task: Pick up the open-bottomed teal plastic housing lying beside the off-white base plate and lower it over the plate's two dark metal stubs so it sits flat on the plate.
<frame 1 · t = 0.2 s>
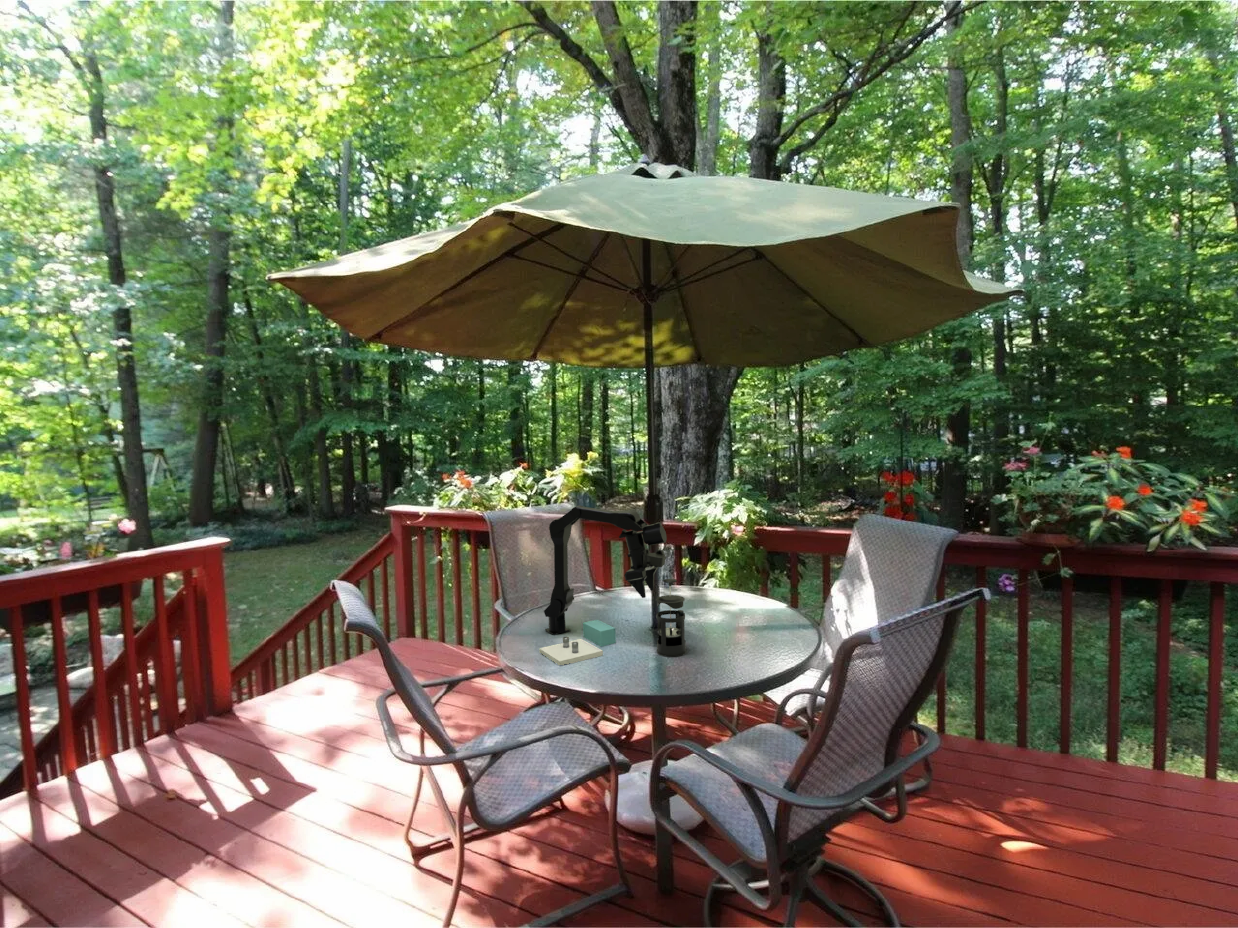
hand: (648, 594, 220), 15 cm above the table, tool pointing down, fingers open, 9 cm apart
base plate: (570, 654, 208), on the table
stubs: (570, 644, 208), on the base plate, point 3 cm above the table
french press: (672, 651, 208), on the table
housing: (599, 640, 221), on the table
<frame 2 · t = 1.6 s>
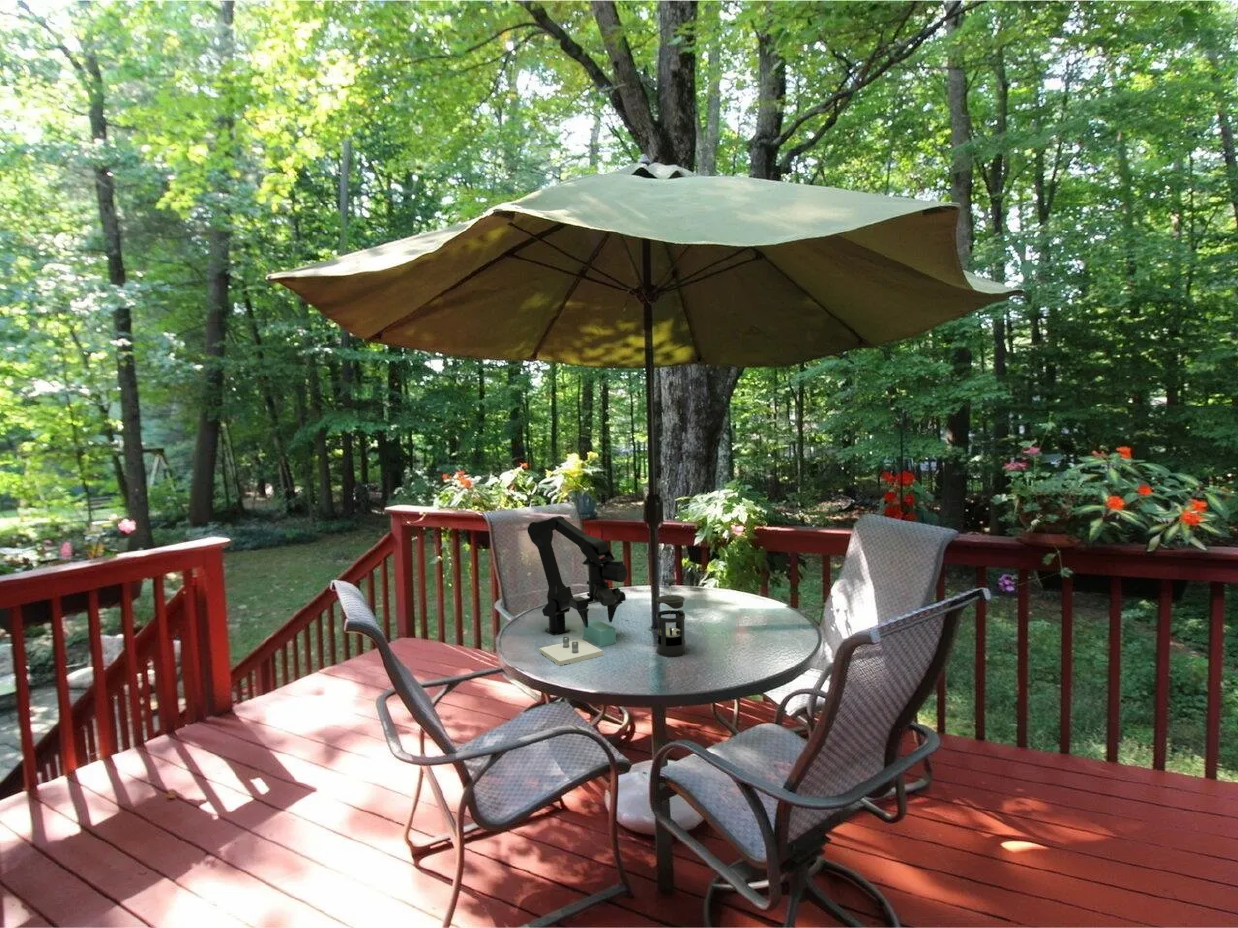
hand: (598, 624, 221), 5 cm above the table, tool pointing down, fingers open, 9 cm apart
nothing on the table moved.
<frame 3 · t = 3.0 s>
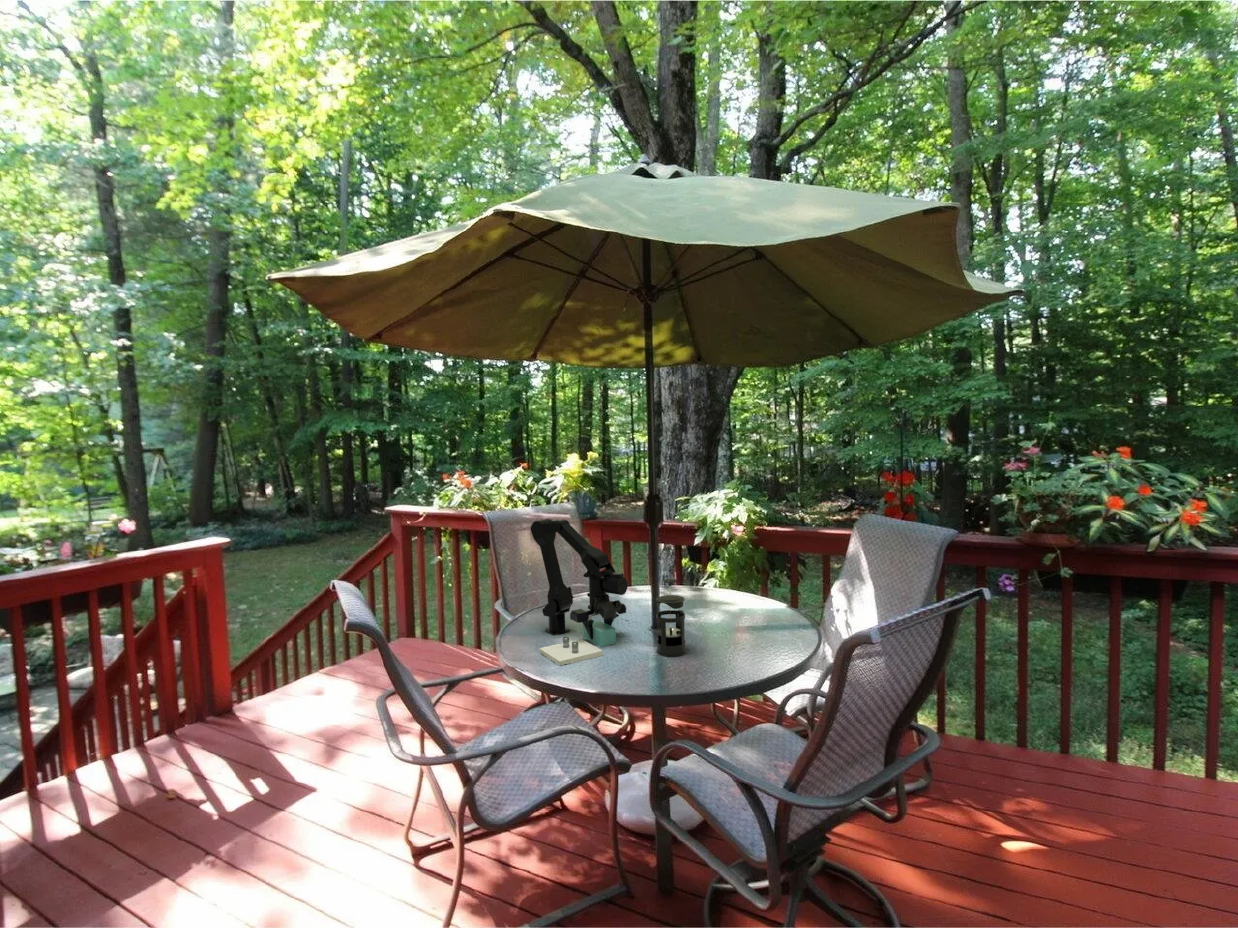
hand: (599, 637, 221), 1 cm above the table, tool pointing down, fingers closed on housing, 6 cm apart
housing: (599, 640, 221), on the table, touching gripper
everything else where it was.
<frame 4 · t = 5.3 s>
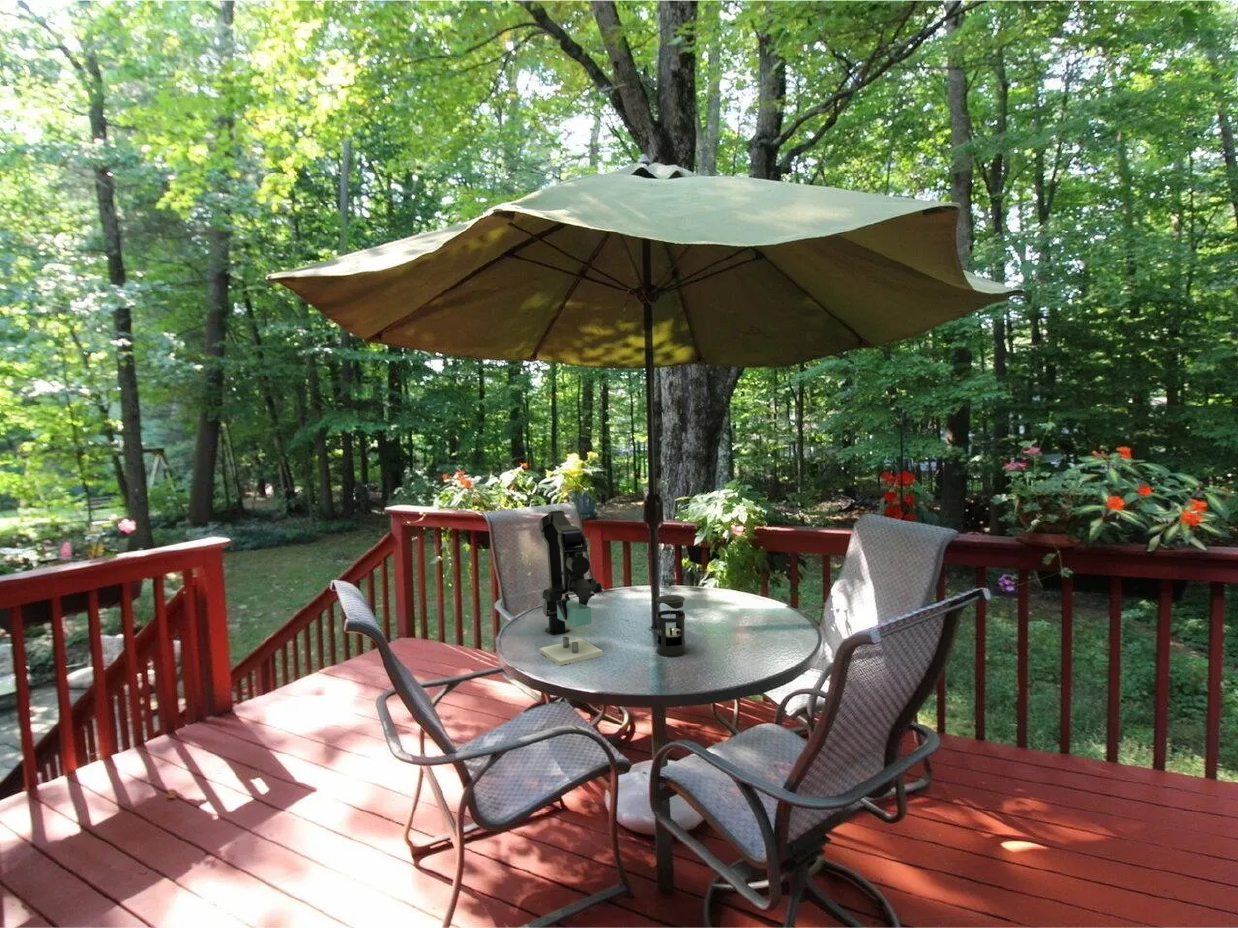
hand: (573, 617, 209), 11 cm above the table, tool pointing down, fingers closed on housing, 6 cm apart
housing: (574, 620, 209), point 10 cm above the table, touching gripper
everything else where it was.
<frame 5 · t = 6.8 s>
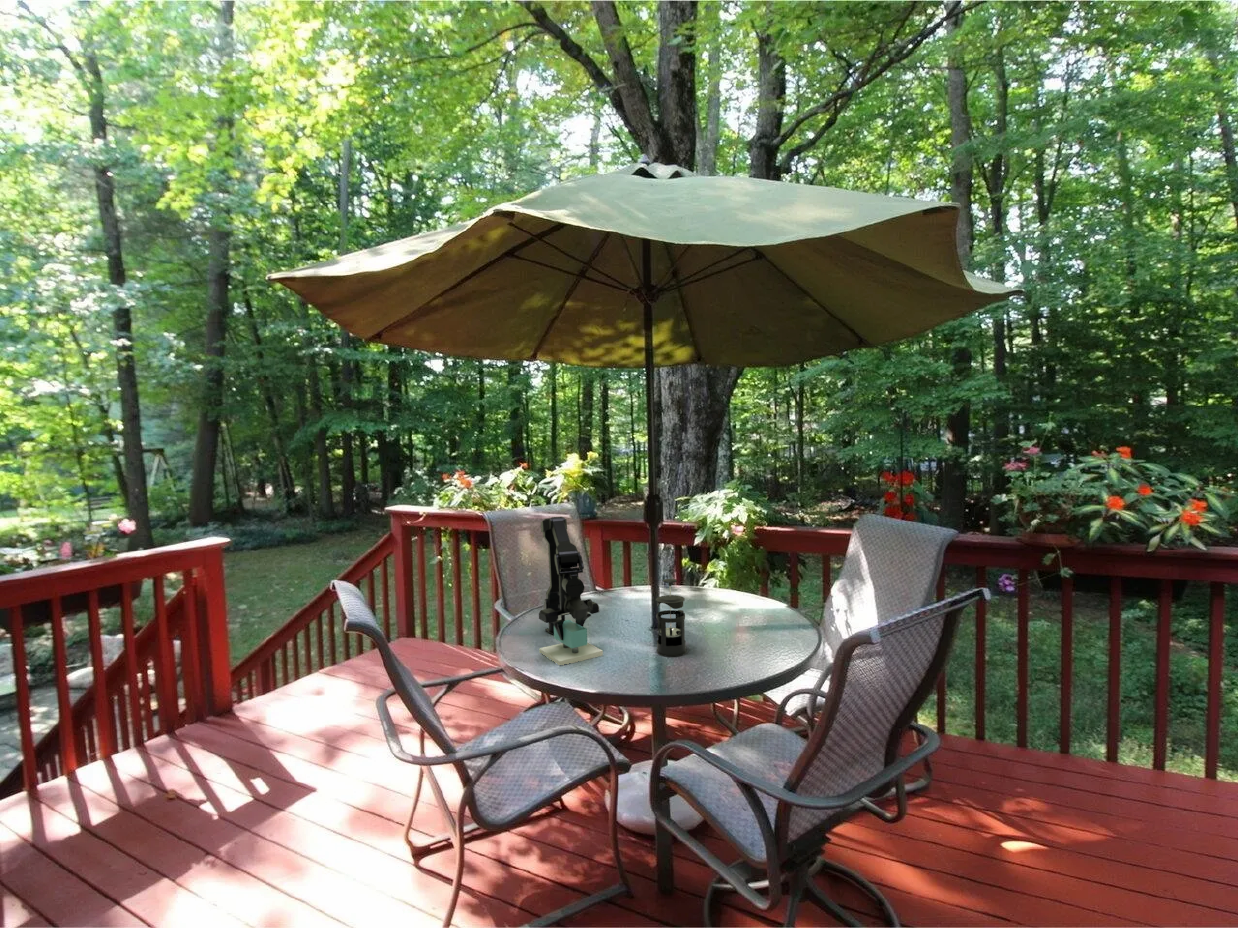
hand: (570, 638, 208), 5 cm above the table, tool pointing down, fingers closed on housing, 6 cm apart
housing: (570, 641, 208), point 4 cm above the table, touching gripper
everything else where it was.
when the fingers open (4 cm above the table, at t = 8.0 s): housing drops 1 cm, resting on base plate.
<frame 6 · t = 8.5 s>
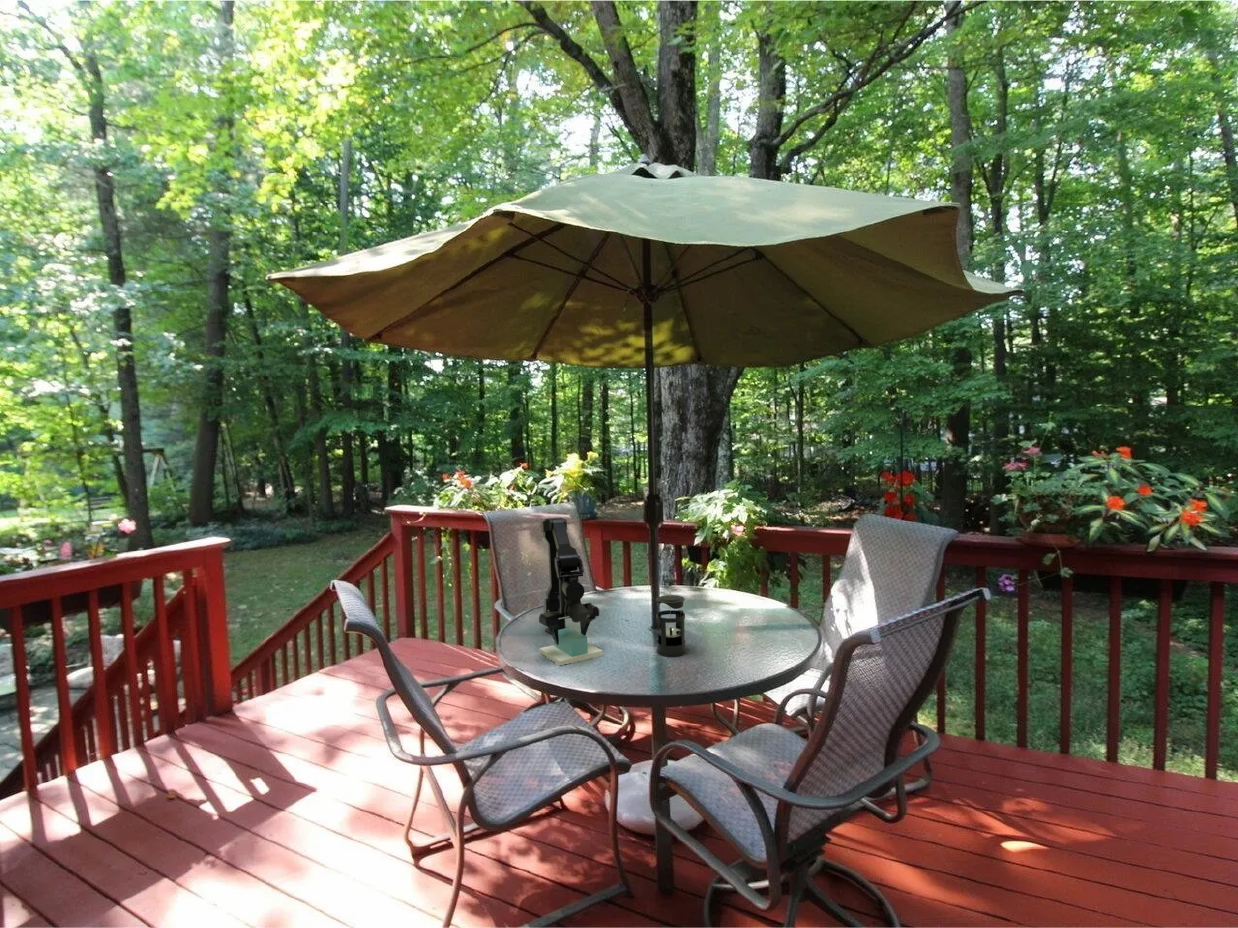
hand: (570, 641, 208), 4 cm above the table, tool pointing down, fingers open, 9 cm apart
housing: (570, 649, 208), point 1 cm above the table, touching base plate
everything else where it was.
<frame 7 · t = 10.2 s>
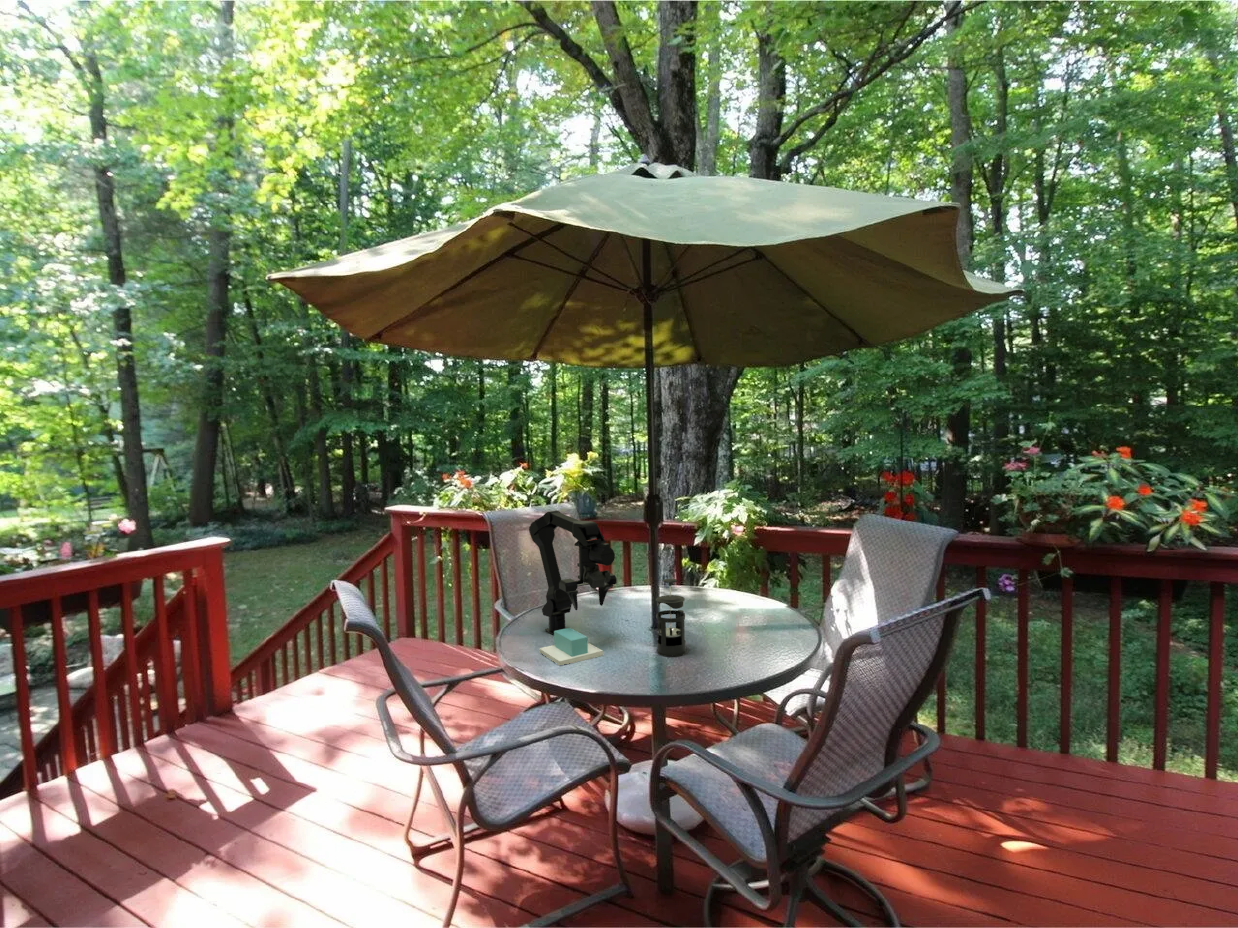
hand: (588, 607, 218), 12 cm above the table, tool pointing down, fingers open, 9 cm apart
nothing on the table moved.
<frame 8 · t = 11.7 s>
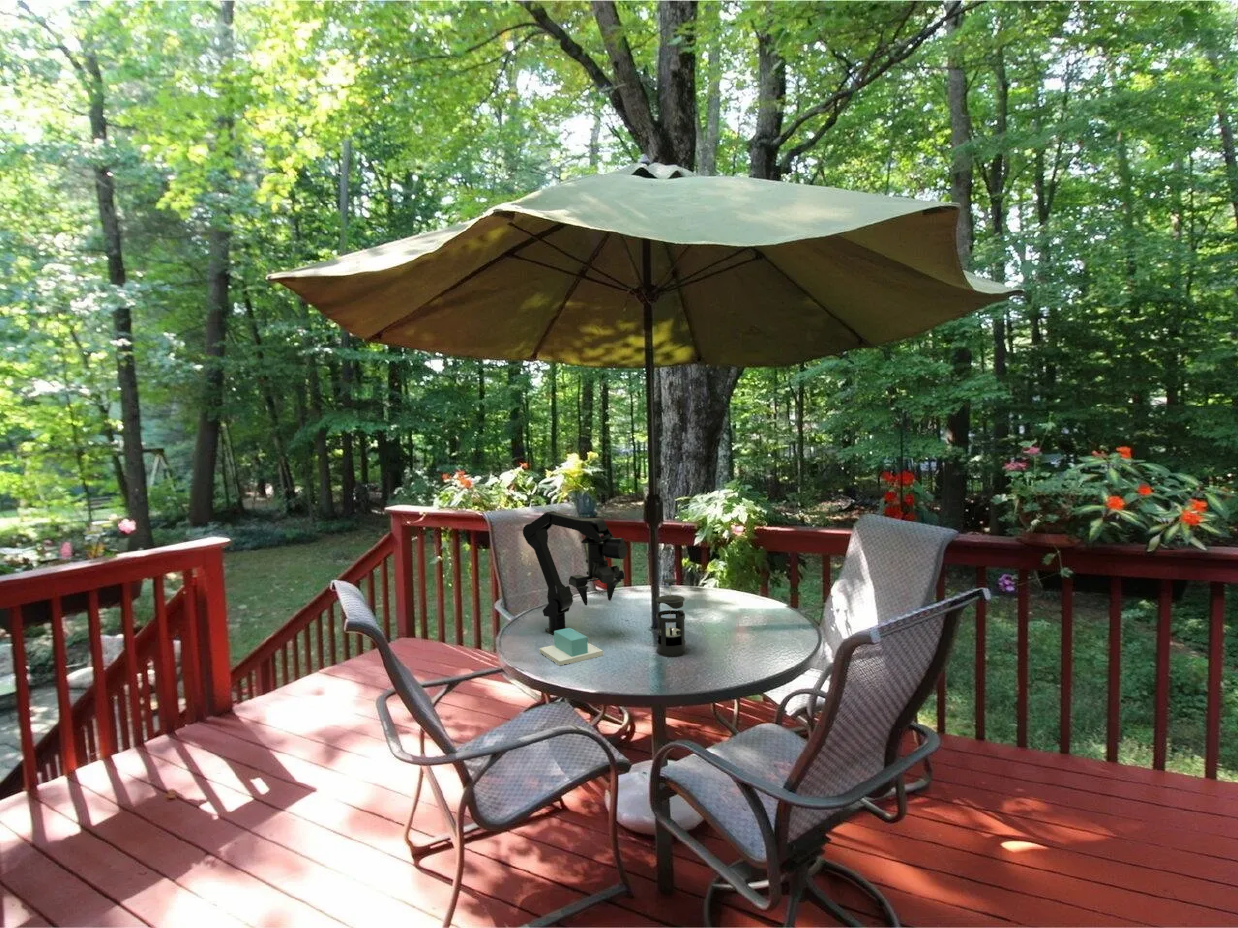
hand: (597, 602, 222), 12 cm above the table, tool pointing down, fingers open, 9 cm apart
nothing on the table moved.
at the end: housing 0.1 cm off-centre on the base plate, point 1.5 cm above the base plate's base; housing tilted 0°; the gripper is holding nothing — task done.
